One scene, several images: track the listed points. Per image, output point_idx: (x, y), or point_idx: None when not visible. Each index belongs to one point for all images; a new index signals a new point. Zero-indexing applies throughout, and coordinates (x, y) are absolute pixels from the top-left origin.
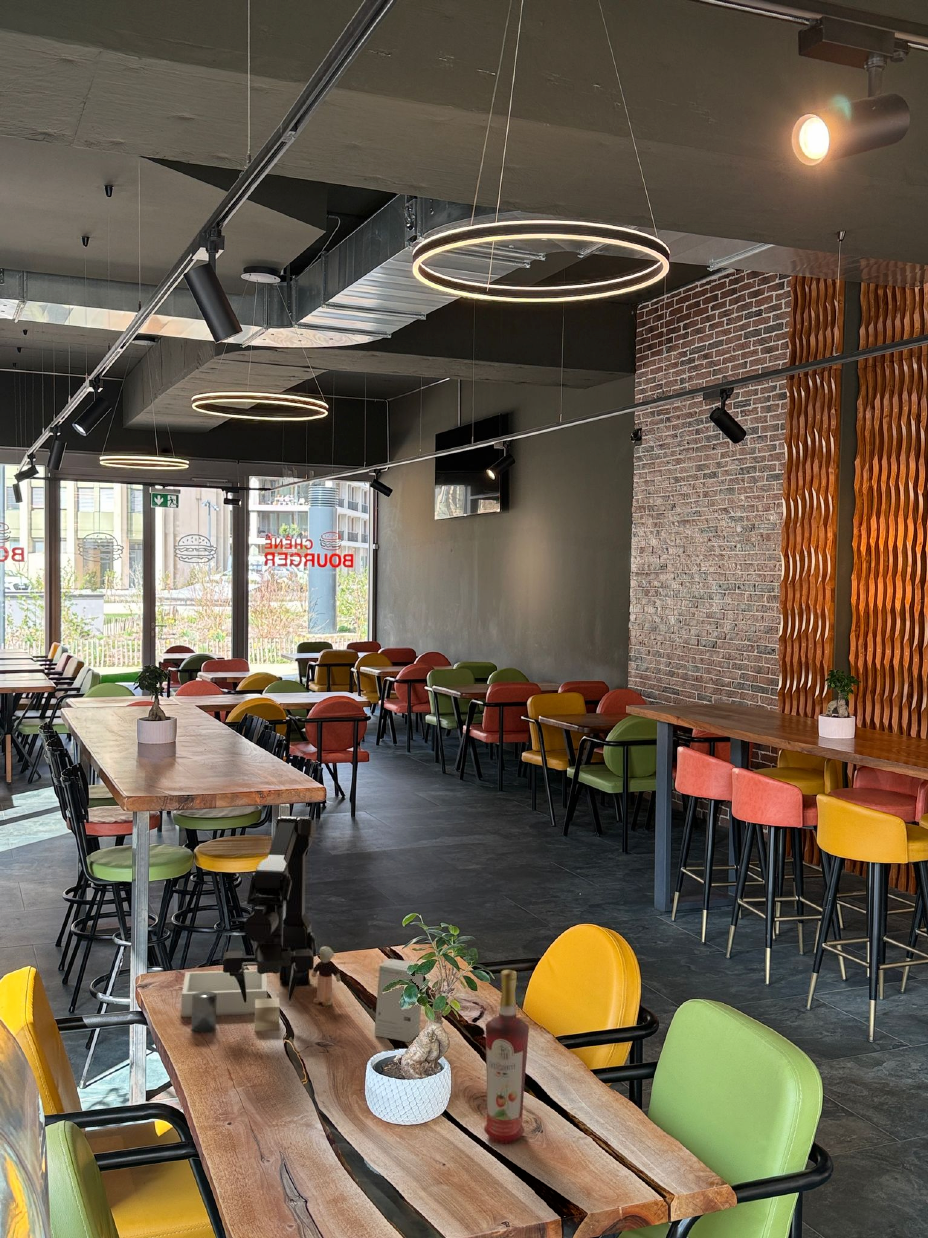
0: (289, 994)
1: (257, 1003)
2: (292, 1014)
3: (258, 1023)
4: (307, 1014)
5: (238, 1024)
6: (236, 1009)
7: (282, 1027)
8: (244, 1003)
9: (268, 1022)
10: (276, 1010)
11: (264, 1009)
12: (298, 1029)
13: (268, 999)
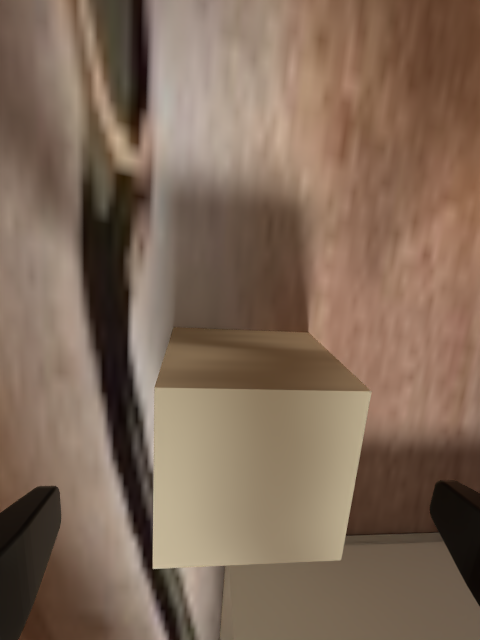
0: (13, 534)
1: (339, 479)
2: (91, 526)
3: (301, 344)
4: None
5: (374, 431)
6: (379, 559)
7: (151, 364)
8: (354, 592)
9: (239, 343)
10: (184, 374)
11: (289, 381)
12: (53, 321)
13: (241, 551)
